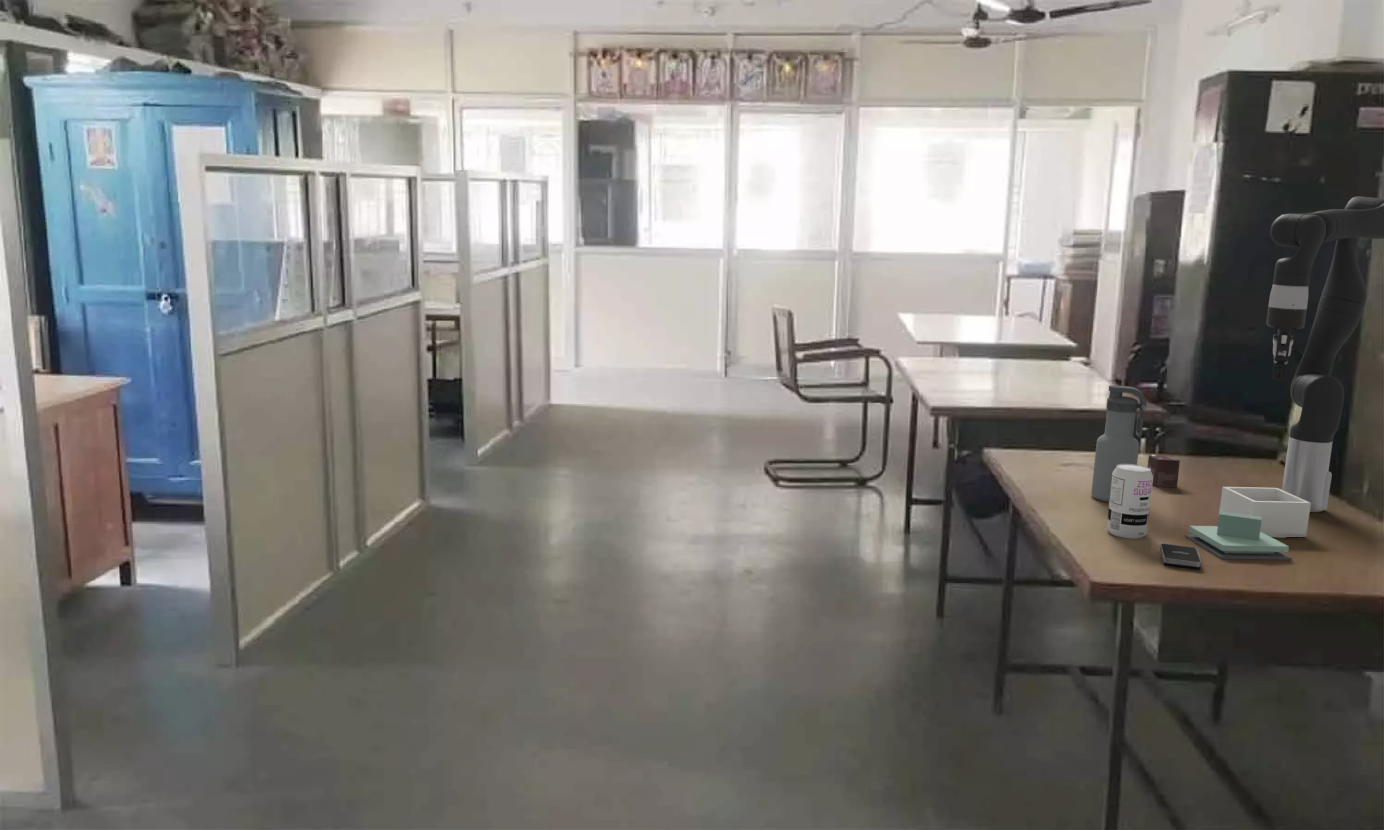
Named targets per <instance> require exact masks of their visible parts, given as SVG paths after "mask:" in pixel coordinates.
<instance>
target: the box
mask: <svg viewBox="0 0 1384 830" xmlns="http://www.w3.org/2000/svg"><path fill="white" fill-rule="evenodd" d="M1180 462H1181V460H1180V459H1178V458H1176V457H1174V456H1172V455H1171V454H1148V459H1147V467H1148V468H1150V469H1151V473H1152V475H1153V483H1152V486H1153V487H1163V488H1164V487H1166V488H1168V487H1169V488H1176V487H1178V481H1179V473H1180V464H1181V463H1180Z"/></svg>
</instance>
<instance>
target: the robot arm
mask: <svg viewBox="0 0 1384 830" xmlns="http://www.w3.org/2000/svg"><path fill="white" fill-rule="evenodd" d="M1269 231H1270V232H1269V234H1270V238H1271V240H1272V242H1274V243H1275V244H1276V245H1277V246H1280V247H1288V248H1289V247H1290V248H1291V247H1292V248H1298V250H1297V251H1296V253H1295V254H1294V255H1293V256H1288V257H1283V258H1279V259H1278V260H1277V261H1276V262H1275V266H1274V272H1273V279H1272V287H1271V290H1270V295H1269V301H1268V308H1267V314H1266V321H1265V322H1266V326H1268V327H1270V328H1277V331H1276V334H1273V337H1272V343H1273V346H1272V355H1273V366H1272V380H1273V381H1274V382H1275V381H1276V382H1284V380H1285V376H1286V370H1287V369H1286V367H1287V364H1288V363H1289V357H1290V356H1291V353H1292V346H1293V344H1294V339H1295V338H1294V335H1291V331H1292V330H1302V329H1304V328H1305V326H1306V325H1305V324H1306V318H1307V317H1306V316H1307V311H1308V310H1307V309H1308V303H1309V289H1310V288H1309V286H1310V280H1311V279H1310V278H1311V272H1312V268H1313V265H1314V262H1315V260H1316V257H1317V255H1318V252H1319V251H1320V248H1321V246H1322V244H1323V243H1329V242H1332V241H1333V242H1334V241H1336V242H1335V247H1334V252H1333V256H1332V260H1331V265H1330V267H1329V271H1328V274H1327V278H1326V281H1325V284H1324V286H1323V288H1322V292H1321V296H1320V299H1319V302H1318V306H1317V308H1316V313H1315V317H1314V320H1313V323H1312V327H1311V330H1310V332H1309V336H1308V339H1307V344H1306V347H1305V349H1304V352H1303V354H1302V357H1301V359H1300V361H1299V364H1298V366H1297V369H1296V371H1295V373H1294V376H1293V378H1292V380H1291V384H1290V389H1289V392H1290V393H1289V394H1290V398H1291V400H1292V402H1293V403H1294V404H1295V405H1296V406H1298V407H1300V408H1301V410H1300V411H1301V413H1300V417H1299V420H1298V422H1296V423H1294V424H1292V425H1291V426H1290V429H1289V434H1288V435H1289V436H1288V443H1287V451H1286V458H1285V464H1284V472H1283V478H1282V487H1281V490H1283V491H1285V492H1287V493H1290V494H1292V495H1294V496H1296V497H1299V498H1301V499H1303V500H1305V501H1308V502H1310V503H1311V506H1310V513H1321V512H1326V510H1328V503H1329V496H1330V489H1331V483H1332V476H1333V474H1332V472H1331V471H1329V470H1330V469H1329V468H1330V461H1331V456H1332V455H1331V454H1332V448H1333V442H1334V441H1333V440H1334V437H1335V434H1336V433H1337V431H1338V428H1339V426H1340V421H1341V417H1342V412H1343V409H1344V408H1343V407H1344V401H1345V390H1344V386H1343V384H1342V382H1341V381H1340V380H1339V379H1338V378H1336V377H1334V376H1333V375H1331V373H1332V370H1333V366H1334V362H1335V360H1336V356H1337V354H1338V353H1339V351H1340V350H1341V348H1342V346H1343V345H1344V344H1345V343H1346V342H1347V341H1348V340H1349V338H1350V336H1352V334H1353V333H1354V331H1355V329H1357V327H1358V325H1359V323H1360V320H1361V317H1362V315H1363V314H1362V313H1363V310H1364V309H1365V304H1366V301H1367V298H1368V297H1367V288H1366V286H1365V285H1366V284H1365V281H1364V277H1363V276H1362V274H1361V270H1360V267H1359V263H1358V256H1357V255H1358V254H1357V253H1358V244H1359V241H1360V238H1364V239H1365V238H1367V239H1374V240H1383V239H1384V198H1380V197H1369V196H1354V197H1351V198H1350V200H1349V201H1348V202H1347V203H1346V205H1345V207H1344V209H1343V208H1342V209H1339V208H1337V209H1333V208H1332V209H1325V210H1318V211H1315V212H1307V213H1306V212H1302V213H1301V212H1299V213H1286V214H1285V213H1284V214H1282V215H1280V216H1278V217H1277V218H1275V220H1273V222H1272V224H1271V226H1270V230H1269ZM1324 510H1325V511H1324Z"/></svg>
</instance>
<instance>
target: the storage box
mask: <svg viewBox="0 0 1384 830" xmlns="http://www.w3.org/2000/svg"><path fill="white" fill-rule="evenodd" d="M1220 496H1221V497H1220V503H1219V512H1218V514H1219V513H1220V511H1224V512H1231V513H1239V514H1246V515H1253V516H1260V517H1262V521H1261V529H1260V532H1262V533H1264V534H1266V535H1268V536H1270V537H1272V538H1286V537H1306V538H1307V533H1308V525H1309V521H1310V513H1311V512H1310V506H1311V503H1310V502H1308V501H1305V500H1303V499H1301V498H1299V497H1296V496H1294V495H1292V494H1290V493H1287V492H1285V491H1283V490H1282V488H1278V487H1254V486H1253V487H1251V486H1250V487H1249V486H1248V487H1247V486H1222V489H1221V495H1220ZM1217 520H1218V521H1219V517H1218V518H1217Z"/></svg>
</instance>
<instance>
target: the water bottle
mask: <svg viewBox="0 0 1384 830" xmlns="http://www.w3.org/2000/svg"><path fill="white" fill-rule="evenodd" d="M1108 391H1109V394H1108V398H1107V399H1106V407H1105V410H1106V419H1105V426H1104V433H1103V434H1102V435H1100V436H1099V437H1097V440H1096V447H1095V454H1094V455H1095V456H1094V463H1093V465H1094V466H1093V475H1092V484H1091V492H1090V493H1091V496H1092V497H1093V498H1094V499H1096V500H1098V501H1102V502H1105V503H1109V501H1110V492H1111V483H1112V473H1113V471H1114V470H1115V468H1116V466H1117V465H1119V464H1134V465H1138V460H1139V459H1138V458H1139V450H1140V443H1139V441H1138V439H1136V438H1135V437H1134V432H1135V434H1136V437H1137V438H1140V439H1141V438H1142V437H1143V427H1144V411H1145V410H1146V409H1147V399H1146V397H1145V395H1144V394H1143V393H1142V391H1141V390H1140V389H1137V388H1136V387H1133V386H1127V385H1126V386H1124V385H1115V384H1113V385H1109V386H1108ZM1123 393H1124V394H1132V395H1135V396H1136V397H1137V398H1138V399H1139V401H1138V400H1137V399H1136V398H1133V397H1131V396H1125V395H1123ZM1138 409H1139V411H1138ZM1137 412H1138V414H1137ZM1136 414H1137V419H1136ZM1135 420H1136V430H1135ZM1134 430H1135V431H1134Z"/></svg>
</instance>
